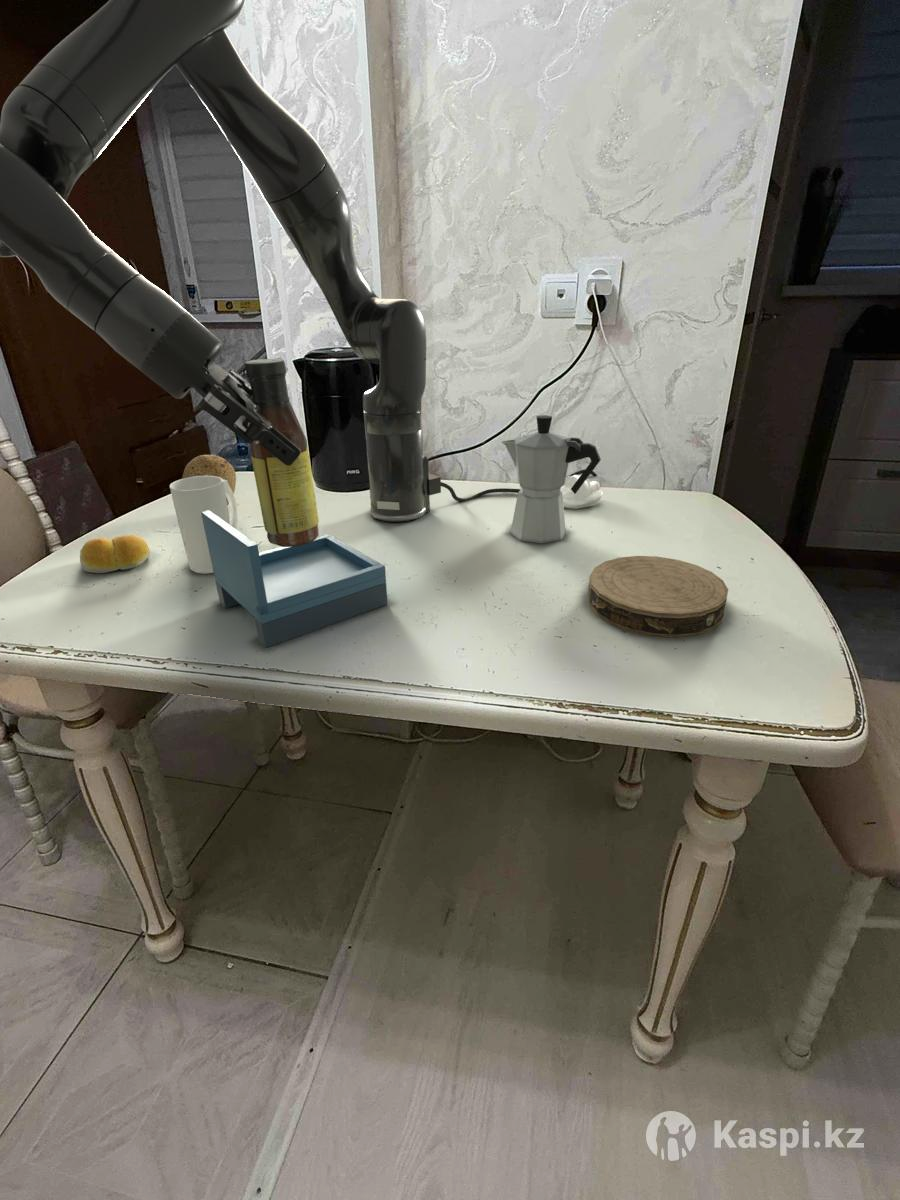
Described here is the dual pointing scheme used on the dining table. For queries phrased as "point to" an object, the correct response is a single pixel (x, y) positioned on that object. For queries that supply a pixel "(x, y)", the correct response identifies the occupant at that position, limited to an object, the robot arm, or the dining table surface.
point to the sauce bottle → (278, 484)
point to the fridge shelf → (292, 581)
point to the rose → (580, 493)
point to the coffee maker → (545, 480)
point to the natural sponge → (211, 469)
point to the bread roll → (113, 554)
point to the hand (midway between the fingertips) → (296, 450)
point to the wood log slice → (657, 596)
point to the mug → (190, 503)
